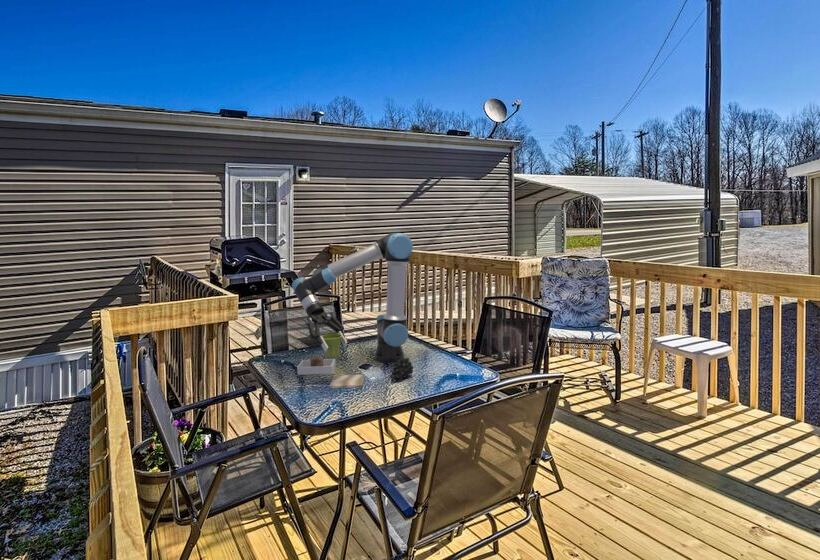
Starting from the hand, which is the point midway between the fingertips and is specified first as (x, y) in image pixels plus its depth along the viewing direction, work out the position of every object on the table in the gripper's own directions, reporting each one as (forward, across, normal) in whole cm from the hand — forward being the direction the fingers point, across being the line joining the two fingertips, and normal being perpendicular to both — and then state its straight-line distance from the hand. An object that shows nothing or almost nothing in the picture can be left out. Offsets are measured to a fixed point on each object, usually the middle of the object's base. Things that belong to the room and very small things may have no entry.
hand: (336, 346), depth 213 cm
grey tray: (-3, -4, -27) cm, 28 cm away
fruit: (+22, -24, -2) cm, 33 cm away
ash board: (+13, -4, -11) cm, 18 cm away
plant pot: (+1, 0, -6) cm, 6 cm away
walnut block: (-4, -4, -26) cm, 27 cm away
